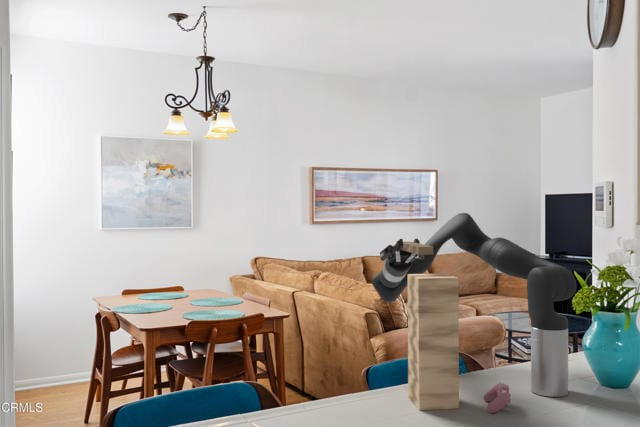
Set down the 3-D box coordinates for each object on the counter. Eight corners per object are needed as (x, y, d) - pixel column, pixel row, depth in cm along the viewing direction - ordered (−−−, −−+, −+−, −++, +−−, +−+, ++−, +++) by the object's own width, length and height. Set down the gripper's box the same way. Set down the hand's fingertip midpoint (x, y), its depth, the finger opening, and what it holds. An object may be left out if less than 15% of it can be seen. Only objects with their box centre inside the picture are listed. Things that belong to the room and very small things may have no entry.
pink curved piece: (502, 421, 144) (516, 395, 143) (484, 411, 145) (498, 386, 144) (498, 407, 154) (510, 383, 153) (481, 398, 155) (494, 374, 154)
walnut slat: (397, 248, 179) (396, 241, 179) (410, 248, 180) (410, 241, 180) (418, 254, 157) (418, 247, 157) (433, 254, 158) (433, 246, 158)
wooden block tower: (407, 397, 157) (407, 274, 157) (445, 395, 159) (445, 273, 158) (419, 410, 147) (418, 278, 147) (459, 408, 149) (458, 277, 148)
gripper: (372, 255, 189) (383, 230, 174) (417, 254, 191) (431, 229, 176) (375, 278, 185) (386, 253, 170) (420, 276, 187) (435, 252, 172)
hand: (409, 241), depth 173 cm, fingers closed on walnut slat, 4 cm apart
